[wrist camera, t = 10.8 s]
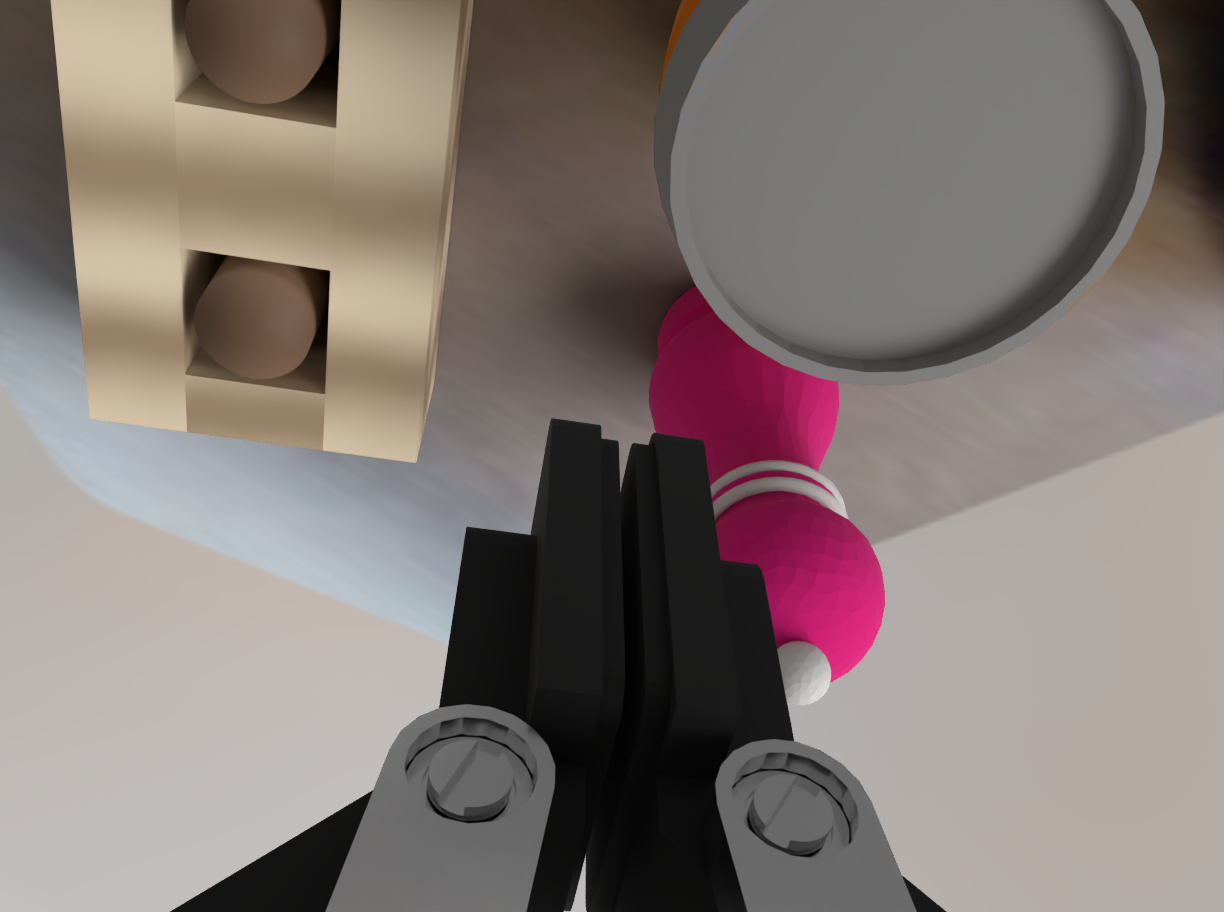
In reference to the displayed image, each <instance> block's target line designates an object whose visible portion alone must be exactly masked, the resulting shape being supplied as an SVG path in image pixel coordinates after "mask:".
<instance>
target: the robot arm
mask: <svg viewBox="0 0 1224 912" xmlns="http://www.w3.org/2000/svg"><path fill="white" fill-rule="evenodd" d="M585 855H586V911H587V912H946V911H945V910H944V909H942V908H941V907H940V906H939V905H937V904H936V903H935V902H934V901H932V900H931V899H930V898H929V897H928V896H926V895H925V894H924V893H923V892H922V891H920V890H919V889H918V888H917V887H915V886H914V885H913V884H912V883H911V882H909V881H908V880H907V879H906V878H904V877H903V876H902V875H901V872H900V870H899V868H898V865H897V863H896V860H895V858H894V855H893V853H892V851H891V848H890V846H889V843H888V841H887V838H886V836H885V834H884V831H883V829H882V826H881V824H880V822H879V819H878V817H877V814H876V812H875V810H874V807H873V804H872V802H871V800H870V798H869V797H868V795H867V793H866V792H865V791H864V789H863V787H862V785H861V783H860V782H859V780H858V779H857V778H856V777H854V776H853V775H852V773H850V771H848V770H847V768H846V767H845V766H843V764H841V763H840V762H838V761H837V760H835V759H833V758H832V757H830V756H828V755H827V754H825V753H824V752H822V751H821V750H818V749H815V748H813V747H810V746H807V745H804V744H801V743H799V742H794V738H793V733H792V727H791V722H790V716H789V711H788V705H787V700H786V695H785V689H784V684H783V678H782V673H781V667H780V662H779V656H778V651H777V646H776V640H775V635H774V629H773V624H772V618H771V613H770V607H769V602H768V597H767V591H766V586H765V580H764V576H763V573H762V570H761V568H760V567H759V566H758V565H757V564H749V563H742V562H734V561H726V560H721V559H720V552H719V545H718V538H717V531H716V523H715V516H714V509H713V502H712V495H711V487H710V480H709V473H708V466H707V459H706V451H705V445H704V441H703V440H701V439H694V438H687V437H680V436H673V435H666V434H659V433H653V435H652V436H651V439H650V442H649V445H644V444H636V443H633V444H632V446H631V449H630V452H629V456H628V461H627V465H626V470H625V474H624V479H623V483H622V488H621V492H620V471H619V443H618V441H615V440H608V439H601V426H600V425H595V424H588V423H581V422H574V421H567V420H560V419H553V418H552V419H551V422H550V426H549V431H548V437H547V443H546V448H545V454H544V460H543V466H542V472H541V477H540V483H539V489H538V495H537V501H536V506H535V512H534V518H533V524H532V530H531V535H527V534H519V533H511V532H503V531H496V530H488V529H480V528H473V527H467V528H466V534H465V540H464V547H463V553H462V560H461V566H460V573H459V580H458V586H457V593H456V600H455V606H454V613H453V620H452V626H451V633H450V639H449V646H448V653H447V659H446V666H445V673H444V679H443V687H442V692H441V699H440V706H439V709H436V710H434V711H431V712H429V713H426V714H424V715H421V716H419V717H418V718H416V719H415V720H414V721H413V722H411V723H410V724H409V725H408V726H406V727H405V728H404V729H403V730H401V732H400V733H399V735H398V737H397V738H396V740H395V741H394V743H393V744H392V746H391V748H390V750H389V752H388V755H387V757H386V760H385V762H384V764H383V767H382V770H381V772H380V775H379V777H378V780H377V782H376V785H375V787H374V790H373V791H371V792H369V793H368V794H366V795H364V796H363V797H361V798H359V799H358V800H356V801H354V802H353V803H351V804H349V805H348V806H346V807H344V808H343V809H341V810H339V811H338V812H336V813H334V814H333V815H331V816H329V817H328V818H326V819H324V820H323V821H321V822H319V823H317V824H316V825H314V826H313V827H311V828H309V829H308V830H306V831H304V832H303V833H301V834H299V835H298V836H296V837H294V838H292V839H291V840H289V841H287V842H286V843H284V844H282V845H281V846H279V847H277V848H276V849H274V850H272V851H271V852H269V853H267V854H266V855H264V856H262V857H261V858H259V859H257V860H256V861H254V862H252V863H251V864H249V865H247V866H246V867H244V868H242V869H241V870H239V871H237V872H236V873H234V874H232V875H231V876H229V877H227V878H226V879H224V880H222V881H221V882H219V883H217V884H216V885H214V886H212V887H211V888H209V889H207V890H206V891H204V892H202V893H200V894H199V895H197V896H195V897H194V898H192V899H190V900H189V901H187V902H185V903H184V904H182V905H180V906H179V907H177V908H175V909H174V910H172V911H170V912H563V911H570V910H571V908H572V905H573V902H574V898H575V894H576V890H577V886H578V882H579V878H580V874H581V871H582V867H583V862H584V859H585Z"/></svg>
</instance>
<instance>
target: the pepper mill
mask: <svg viewBox="0 0 1224 912" xmlns="http://www.w3.org/2000/svg"><path fill="white" fill-rule="evenodd" d="M657 351H658V360H657V362H656V364H655V367H654V370H653V373H652V376H651V382H650V389H649V404H650V410H651V414H652V418H653V422H654V427H655V430H656V433H659V434H666V435H673V436H680V437H687V438H694V439H701V440H703V441H704V445H705V451H706V459H707V466H708V473H709V480H710V487H711V495H712V502H713V509H714V516H715V523H716V531H717V538H718V545H719V552H720V559H721V560H726V561H734V562H742V563H749V564H757V565H758V566H759V567H760V568H761V570H762V573H763V576H764V580H765V586H766V591H767V597H768V602H769V607H770V613H771V618H772V624H773V629H774V635H775V640H776V646H777V651H778V656H779V662H780V667H781V673H782V678H783V684H784V689H785V695H786V700H787V703H789V704H792V705H799V706H802V705H808V704H811V703H813V702H815V701H817V700H819V699H820V698H821V697H822V696H823V695H824V694H825V693H826V691H827V689H828V687H829V685H830V682H833V681H834V680H836V679H838V678H839V677H841V676H843V675H844V674H846V673H848V672H849V671H850V670H851V669H852V668H853V667H854V666H855V665H857V664H858V663H859V662H860V661H861V660H862V658H863V657H864V656H865V654H866V653H867V652H868V650H869V649H870V647H871V646H872V644H873V642H874V640H875V638H876V635H877V633H878V631H879V629H880V626H881V623H882V617H883V612H884V606H885V591H884V583H883V576H882V571H881V568H880V564H879V562H878V559H877V558H876V555H875V553H874V551H873V549H872V547H871V545H870V543H869V541H868V539H867V538H866V537H865V536H864V535H863V534H862V533H861V532H860V531H859V530H858V529H857V528H856V527H855V526H854V525H853V524H852V523H851V522H850V521H849V519H848V516H847V514H846V509H845V505H844V502H843V499H842V497H841V495H840V493H839V491H838V489H837V488H836V487H835V485H834V484H833V483H832V482H831V481H830V480H829V479H828V478H827V477H825V476H824V475H823V474H821V473H820V472H818V469H819V467H820V464H821V462H822V460H823V458H824V456H825V454H826V451H827V449H828V447H829V445H830V443H831V441H832V437H833V434H834V431H835V426H836V421H837V416H838V409H839V390H838V382H837V381H833V380H826V379H821V378H818V377H815V376H812V375H810V374H807V373H804V372H801V371H798V370H795V369H793V368H790V367H787V366H784V365H782V364H780V363H779V362H777V361H775V360H774V359H772V358H770V357H769V356H767V355H765V354H763V353H762V352H760V351H758V350H757V349H755V348H753V347H752V346H750V345H748V344H747V343H746V342H745V341H744V340H743V339H742V338H741V337H740V336H738V335H737V334H736V333H735V332H734V331H733V330H732V329H731V328H730V327H729V326H728V325H726V324H725V323H724V322H723V321H722V320H721V319H720V318H719V317H718V316H717V314H716V313H715V312H714V310H713V309H712V307H711V306H710V305H709V303H708V302H707V300H706V299H705V298H704V296H703V295H702V293H701V292H700V291H699V289H698V288H697V286H694V287H693V288H691V289H689V290H688V291H687V292H686V293H684V294H683V295H682V296H681V297H680V298H678V299H677V300H676V302H675V303H674V304H673V305H672V306H671V308H670V309H669V310H668V312H667V314H666V315H665V317H664V319H663V321H662V324H661V327H660V330H659V334H658V341H657Z"/></svg>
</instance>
